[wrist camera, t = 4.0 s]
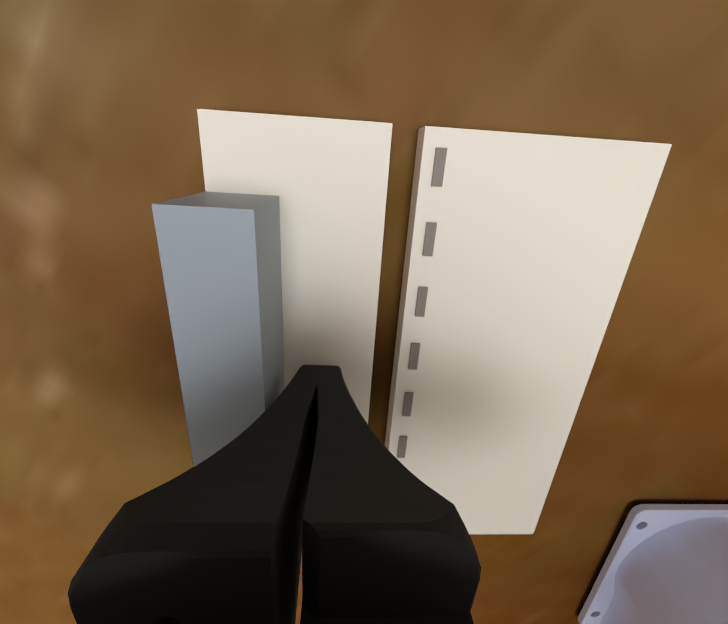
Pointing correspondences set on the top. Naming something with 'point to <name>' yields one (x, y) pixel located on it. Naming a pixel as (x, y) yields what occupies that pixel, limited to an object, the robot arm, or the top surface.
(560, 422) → the ticket
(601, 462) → the top surface
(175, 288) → the stub
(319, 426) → the robot arm
